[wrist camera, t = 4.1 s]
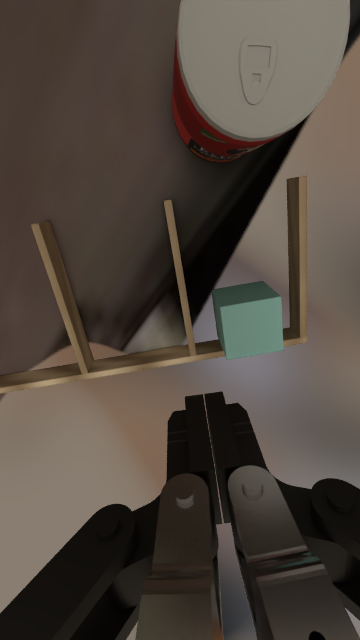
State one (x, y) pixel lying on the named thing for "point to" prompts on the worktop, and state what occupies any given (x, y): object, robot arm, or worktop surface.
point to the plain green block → (248, 319)
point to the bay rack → (192, 351)
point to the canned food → (252, 69)
